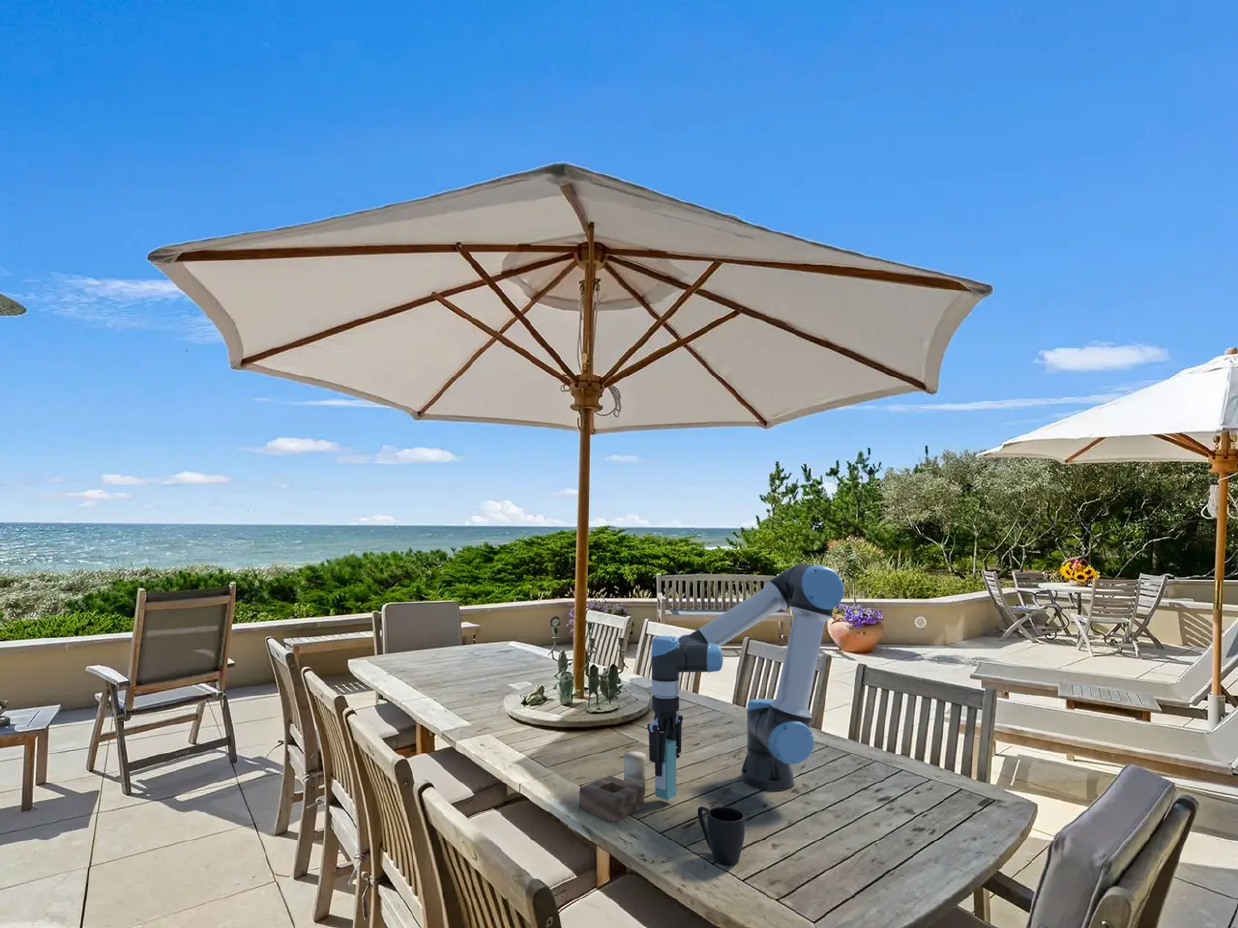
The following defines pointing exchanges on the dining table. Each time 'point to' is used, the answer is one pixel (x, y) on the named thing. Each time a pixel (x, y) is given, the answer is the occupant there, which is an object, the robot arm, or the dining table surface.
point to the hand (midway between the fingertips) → (665, 785)
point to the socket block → (611, 798)
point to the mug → (724, 833)
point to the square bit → (668, 772)
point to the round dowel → (635, 768)
